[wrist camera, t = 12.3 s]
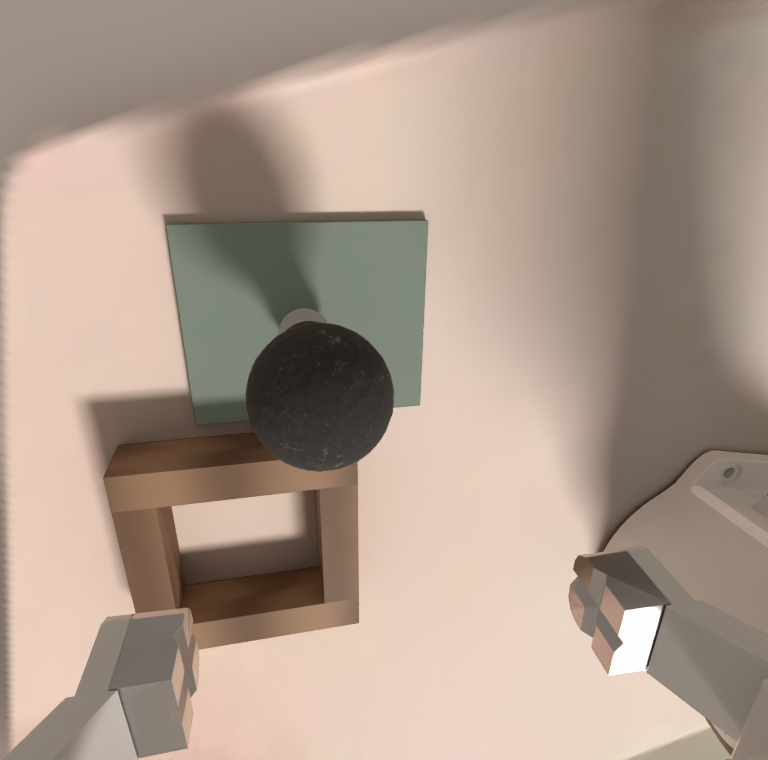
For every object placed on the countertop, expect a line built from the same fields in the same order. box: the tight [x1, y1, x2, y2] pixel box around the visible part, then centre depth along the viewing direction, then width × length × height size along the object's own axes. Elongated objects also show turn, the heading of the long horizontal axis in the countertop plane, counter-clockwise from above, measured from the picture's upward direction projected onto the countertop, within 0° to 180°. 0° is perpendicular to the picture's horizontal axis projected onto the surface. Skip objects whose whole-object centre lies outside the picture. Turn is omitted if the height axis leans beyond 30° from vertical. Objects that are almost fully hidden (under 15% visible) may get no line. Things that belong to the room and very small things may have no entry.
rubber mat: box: [166, 220, 428, 425], centre depth 27 cm, size 12×10×1 cm
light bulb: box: [246, 308, 394, 472], centre depth 22 cm, size 6×6×10 cm
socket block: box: [103, 433, 359, 649], centre depth 30 cm, size 12×12×3 cm
